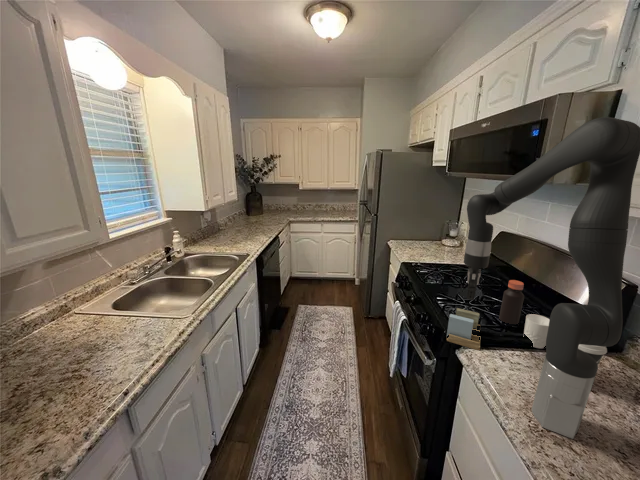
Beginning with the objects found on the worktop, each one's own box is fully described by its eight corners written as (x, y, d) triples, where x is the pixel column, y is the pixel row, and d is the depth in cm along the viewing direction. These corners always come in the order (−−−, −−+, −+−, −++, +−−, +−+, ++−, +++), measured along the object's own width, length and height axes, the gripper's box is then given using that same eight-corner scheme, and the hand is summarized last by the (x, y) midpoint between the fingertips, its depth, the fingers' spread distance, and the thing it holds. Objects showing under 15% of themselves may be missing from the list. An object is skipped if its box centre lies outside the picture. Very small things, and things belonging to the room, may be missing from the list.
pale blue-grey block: (469, 343, 98) (473, 322, 96) (446, 337, 102) (449, 316, 100) (470, 340, 100) (473, 319, 98) (447, 333, 104) (450, 313, 102)
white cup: (538, 337, 103) (543, 314, 100) (553, 350, 95) (559, 326, 93) (516, 336, 104) (521, 313, 101) (530, 349, 96) (535, 325, 94)
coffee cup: (563, 364, 88) (574, 325, 84) (601, 385, 80) (615, 343, 76) (546, 373, 85) (557, 332, 81) (584, 395, 76) (598, 352, 72)
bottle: (504, 320, 114) (513, 277, 109) (521, 328, 108) (531, 284, 103) (494, 323, 112) (502, 280, 107) (510, 332, 106) (519, 287, 101)
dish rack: (479, 350, 95) (483, 330, 93) (446, 340, 101) (449, 321, 99) (480, 331, 107) (483, 312, 105) (450, 323, 113) (453, 305, 110)
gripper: (490, 259, 83) (482, 305, 87) (490, 248, 95) (483, 289, 99) (463, 256, 87) (457, 300, 91) (466, 245, 99) (460, 285, 103)
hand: (470, 294), depth 95 cm, fingers open, 8 cm apart
